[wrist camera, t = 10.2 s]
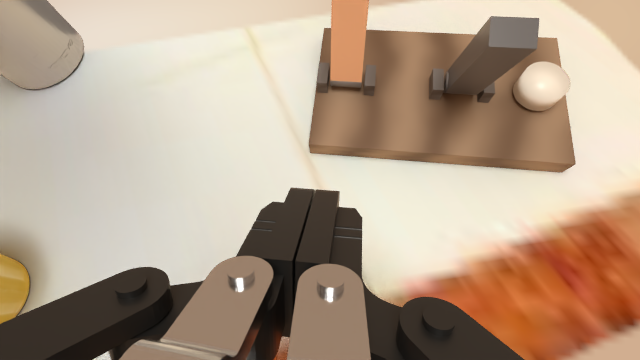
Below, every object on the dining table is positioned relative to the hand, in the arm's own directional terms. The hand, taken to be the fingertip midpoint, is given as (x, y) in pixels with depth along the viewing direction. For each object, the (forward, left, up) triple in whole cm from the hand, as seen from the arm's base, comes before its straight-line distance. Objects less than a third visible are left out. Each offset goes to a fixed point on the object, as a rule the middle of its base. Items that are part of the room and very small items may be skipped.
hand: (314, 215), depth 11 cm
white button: (+12, +22, -19) cm, 32 cm away
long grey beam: (+5, +21, -19) cm, 29 cm away
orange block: (-5, +18, -18) cm, 26 cm away
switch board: (+4, +20, -21) cm, 29 cm away
